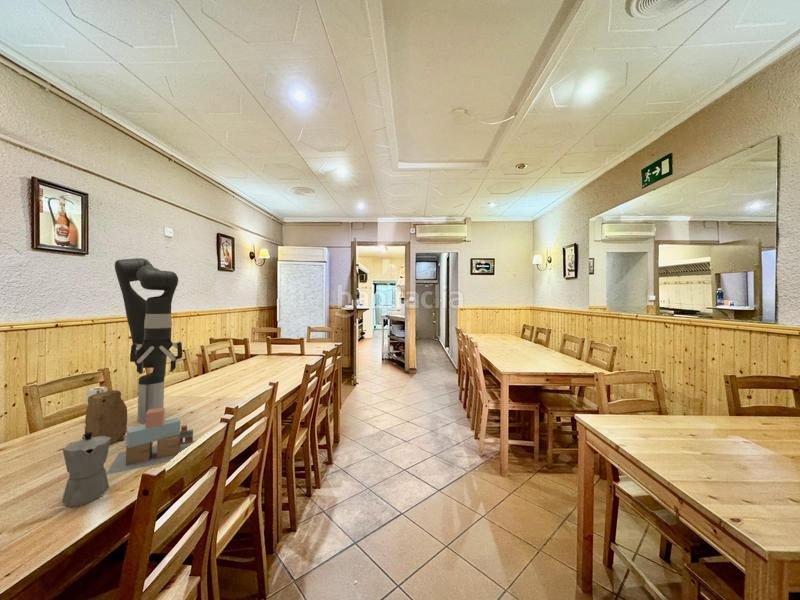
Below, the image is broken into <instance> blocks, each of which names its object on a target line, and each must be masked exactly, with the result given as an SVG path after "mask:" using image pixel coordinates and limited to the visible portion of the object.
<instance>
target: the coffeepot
mask: <svg viewBox="0 0 800 600" xmlns="http://www.w3.org/2000/svg"><path fill="white" fill-rule="evenodd" d="M92 433H93V432H88V433H85V432H84V434H83V435H82V439H79V440H77V441H73V442H71V443H69V444H67V445H66V446H65V447H64V448H62V451H63V457H64V463H65V466H66V467H65V468H66V472H67V473H69V477H68V479H67V481H66V485H65V488H64V492H63V497H62V500H61V503H62V504H63V506H64V507H66V508H76V507H80V505H81V506H84V505H87V503H88V504H91V503H93V502H94V501H97V500H99V499H101V498H103V495H105V494H106V492H107V491H108V489H109V488H110V485H109V480H108V475H106V473H107V469H106V468H105V466H104V465H105V463H106V462H107V459H108V453H109V449H110V446H111V445H110V441H111V438H110V437H106V436H98V437H91V436H92ZM92 501H93V502H92ZM75 506H76V507H75Z"/></svg>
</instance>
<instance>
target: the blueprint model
mask: <svg viewBox="0 0 800 600" xmlns="http://www.w3.org/2000/svg"><path fill="white" fill-rule="evenodd" d="M184 440H185V441H184ZM194 442H195V443H196V438H194V429H193V428H192V429H188V424H186V425H180V446H186V445H191V444H192V443H194Z"/></svg>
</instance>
